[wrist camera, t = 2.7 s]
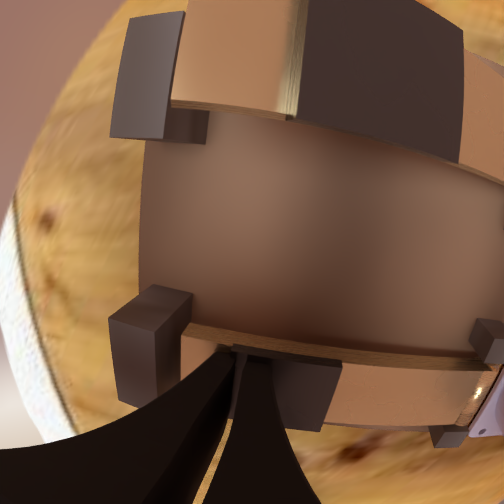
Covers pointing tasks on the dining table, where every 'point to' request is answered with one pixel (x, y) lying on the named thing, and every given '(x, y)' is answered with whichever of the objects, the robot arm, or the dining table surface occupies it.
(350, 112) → the near strap
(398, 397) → the far strap
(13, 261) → the dining table surface
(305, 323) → the brown strap fixture board
